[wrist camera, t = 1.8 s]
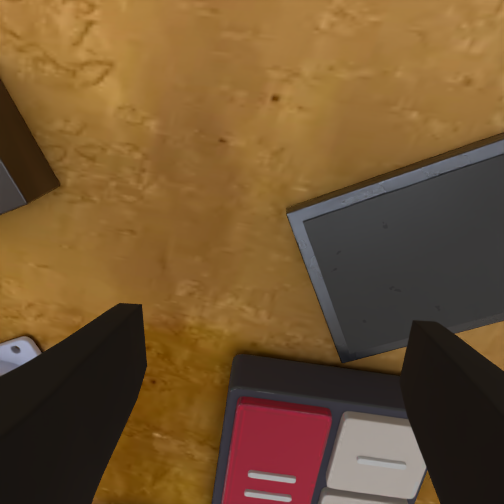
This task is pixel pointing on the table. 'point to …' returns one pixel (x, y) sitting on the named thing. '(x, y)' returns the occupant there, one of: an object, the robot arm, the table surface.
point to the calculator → (315, 437)
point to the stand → (20, 160)
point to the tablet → (408, 249)
